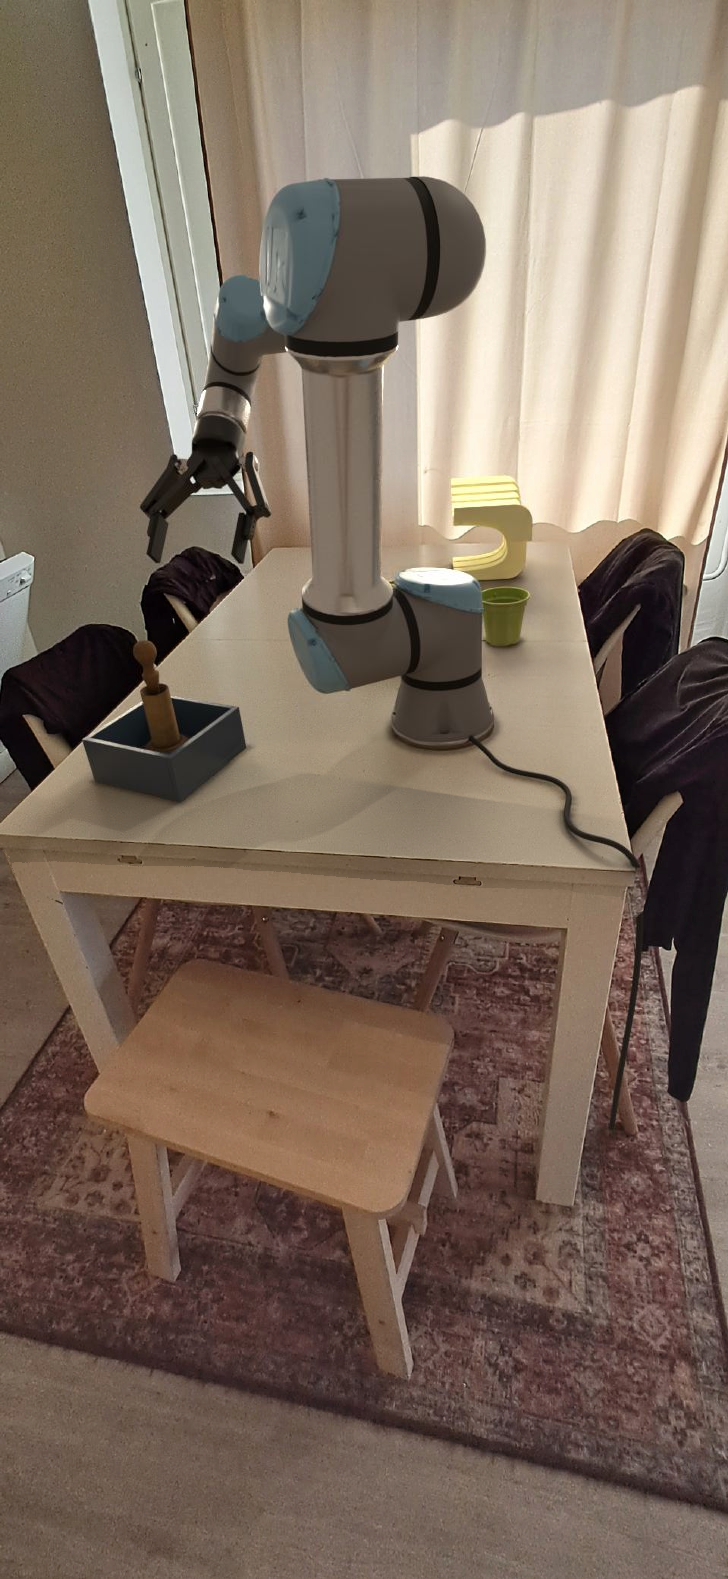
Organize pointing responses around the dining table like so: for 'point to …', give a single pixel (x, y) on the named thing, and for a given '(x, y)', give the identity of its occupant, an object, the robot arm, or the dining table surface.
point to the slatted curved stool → (492, 524)
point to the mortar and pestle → (157, 703)
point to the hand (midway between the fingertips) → (194, 559)
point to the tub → (168, 776)
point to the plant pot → (503, 614)
